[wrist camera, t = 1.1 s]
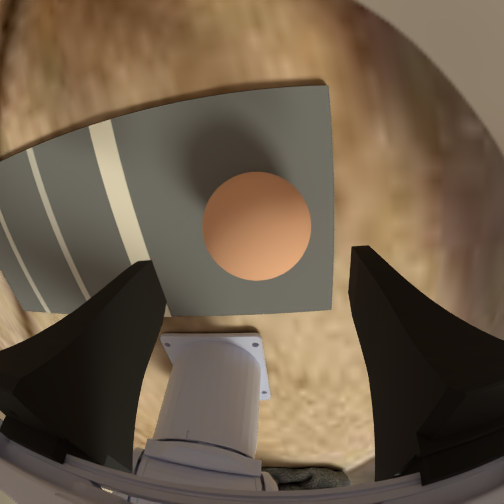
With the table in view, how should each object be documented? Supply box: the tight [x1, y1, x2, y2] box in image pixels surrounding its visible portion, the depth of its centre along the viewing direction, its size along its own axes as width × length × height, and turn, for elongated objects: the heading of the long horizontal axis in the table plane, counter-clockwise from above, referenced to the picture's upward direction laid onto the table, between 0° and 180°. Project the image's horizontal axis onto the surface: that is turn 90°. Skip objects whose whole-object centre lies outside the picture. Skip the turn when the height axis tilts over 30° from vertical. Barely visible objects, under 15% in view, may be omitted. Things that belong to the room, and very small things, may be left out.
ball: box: [202, 172, 311, 281], centre depth 14 cm, size 5×5×5 cm
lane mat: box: [0, 85, 334, 317], centre depth 18 cm, size 14×28×1 cm, turn 97°
